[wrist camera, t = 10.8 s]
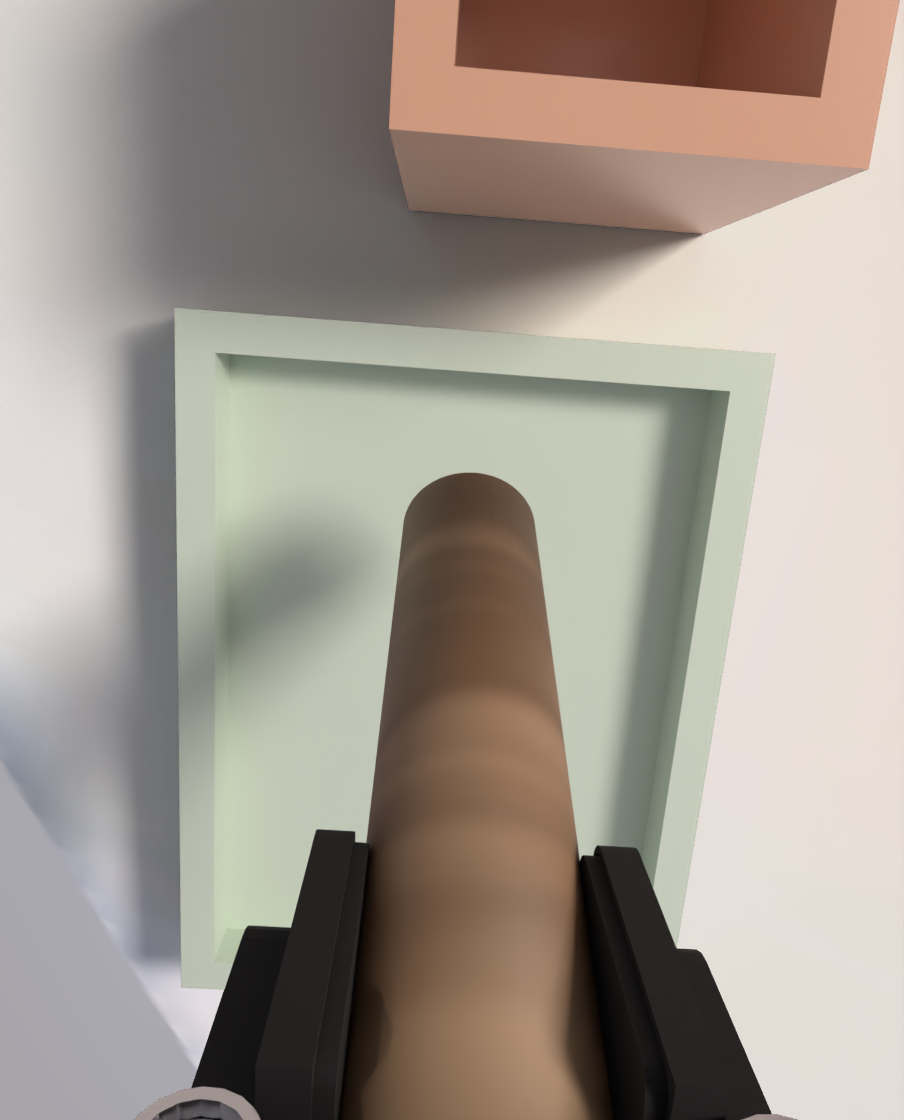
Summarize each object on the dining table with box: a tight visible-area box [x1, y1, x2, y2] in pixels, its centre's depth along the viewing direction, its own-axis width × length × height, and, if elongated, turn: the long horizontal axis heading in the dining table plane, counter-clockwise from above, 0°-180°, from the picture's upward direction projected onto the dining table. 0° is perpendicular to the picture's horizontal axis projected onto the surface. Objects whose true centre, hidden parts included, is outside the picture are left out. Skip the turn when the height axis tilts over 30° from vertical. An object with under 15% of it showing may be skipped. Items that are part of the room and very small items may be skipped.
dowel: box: [339, 472, 614, 1120], centre depth 13 cm, size 8×3×14 cm, turn 176°
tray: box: [174, 308, 776, 990], centre depth 25 cm, size 20×15×2 cm
